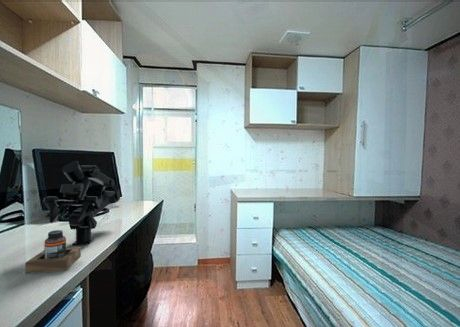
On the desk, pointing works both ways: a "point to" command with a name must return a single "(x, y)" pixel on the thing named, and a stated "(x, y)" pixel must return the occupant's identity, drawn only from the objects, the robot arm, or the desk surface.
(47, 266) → the walnut pocket block
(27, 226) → the desk surface
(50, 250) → the supplement bottle
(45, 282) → the desk surface
